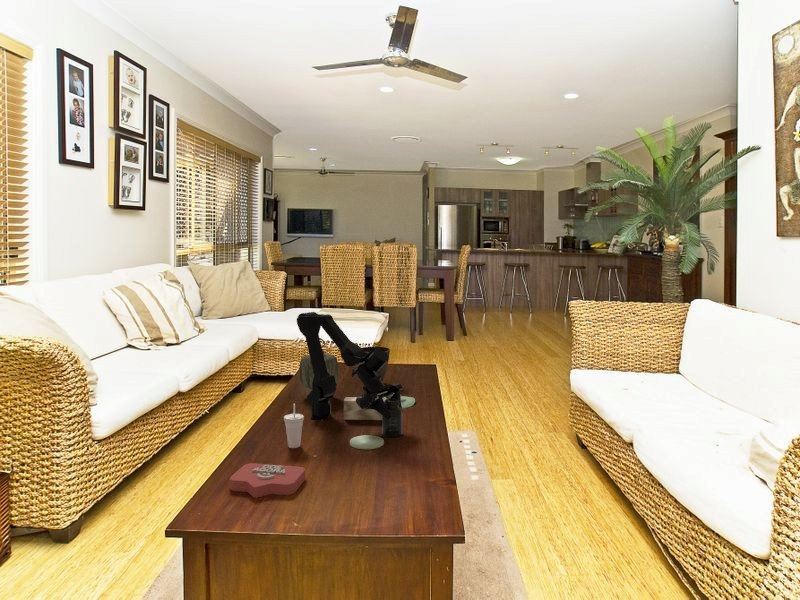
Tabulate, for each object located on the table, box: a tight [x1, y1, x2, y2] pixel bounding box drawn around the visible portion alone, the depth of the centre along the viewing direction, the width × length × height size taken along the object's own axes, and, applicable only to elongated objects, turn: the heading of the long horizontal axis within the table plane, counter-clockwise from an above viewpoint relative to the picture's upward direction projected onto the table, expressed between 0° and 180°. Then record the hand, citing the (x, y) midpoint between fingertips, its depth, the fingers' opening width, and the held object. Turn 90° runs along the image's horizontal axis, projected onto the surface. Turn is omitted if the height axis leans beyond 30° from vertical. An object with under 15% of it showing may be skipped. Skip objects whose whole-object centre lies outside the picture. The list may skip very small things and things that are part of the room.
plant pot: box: [361, 346, 391, 383], centre depth 263 cm, size 15×15×16 cm
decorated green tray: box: [384, 381, 416, 410], centre depth 234 cm, size 25×21×9 cm
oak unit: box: [343, 396, 387, 421], centre depth 213 cm, size 16×5×7 cm, turn 90°
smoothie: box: [283, 403, 305, 449], centre depth 183 cm, size 6×6×14 cm
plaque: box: [229, 462, 306, 499], centre depth 154 cm, size 18×4×15 cm
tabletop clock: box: [299, 337, 339, 398], centre depth 240 cm, size 14×9×25 cm, turn 58°
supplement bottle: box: [381, 398, 403, 438], centre depth 195 cm, size 7×7×12 cm
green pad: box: [349, 434, 385, 450], centre depth 187 cm, size 11×11×1 cm
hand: (395, 416), depth 194 cm, fingers closed on supplement bottle, 7 cm apart
